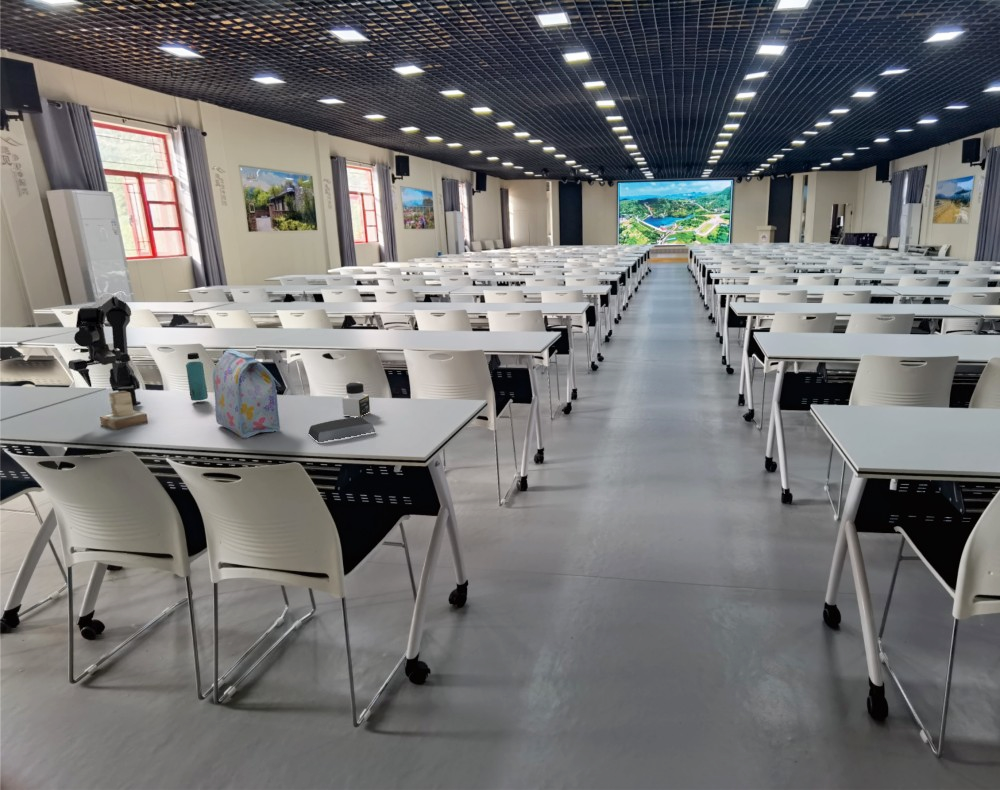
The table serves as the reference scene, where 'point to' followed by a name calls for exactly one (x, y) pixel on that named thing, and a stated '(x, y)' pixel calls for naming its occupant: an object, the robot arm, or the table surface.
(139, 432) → the table surface
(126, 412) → the oak block
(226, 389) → the lunch bag
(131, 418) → the picture frame
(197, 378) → the beverage bottle
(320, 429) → the external hard drive
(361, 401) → the medicine bottle
